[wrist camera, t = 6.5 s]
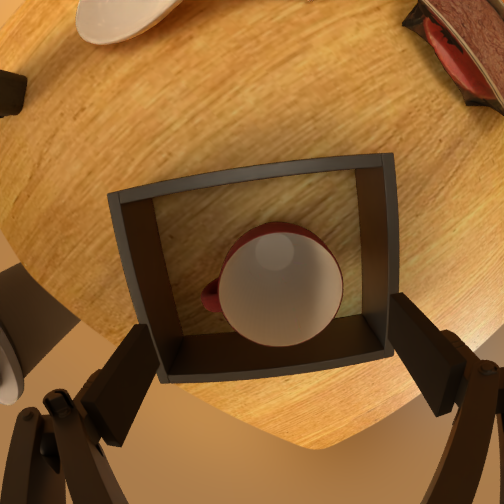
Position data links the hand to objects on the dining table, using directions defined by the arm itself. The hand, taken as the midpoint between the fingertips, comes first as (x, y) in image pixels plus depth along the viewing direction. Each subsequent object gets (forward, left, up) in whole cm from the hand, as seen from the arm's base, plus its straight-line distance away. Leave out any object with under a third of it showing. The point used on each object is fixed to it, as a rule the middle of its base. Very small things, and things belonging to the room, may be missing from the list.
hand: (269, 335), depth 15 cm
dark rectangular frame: (0, 0, -14) cm, 14 cm away
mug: (0, 0, -14) cm, 14 cm away
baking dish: (+26, +21, -14) cm, 36 cm away
